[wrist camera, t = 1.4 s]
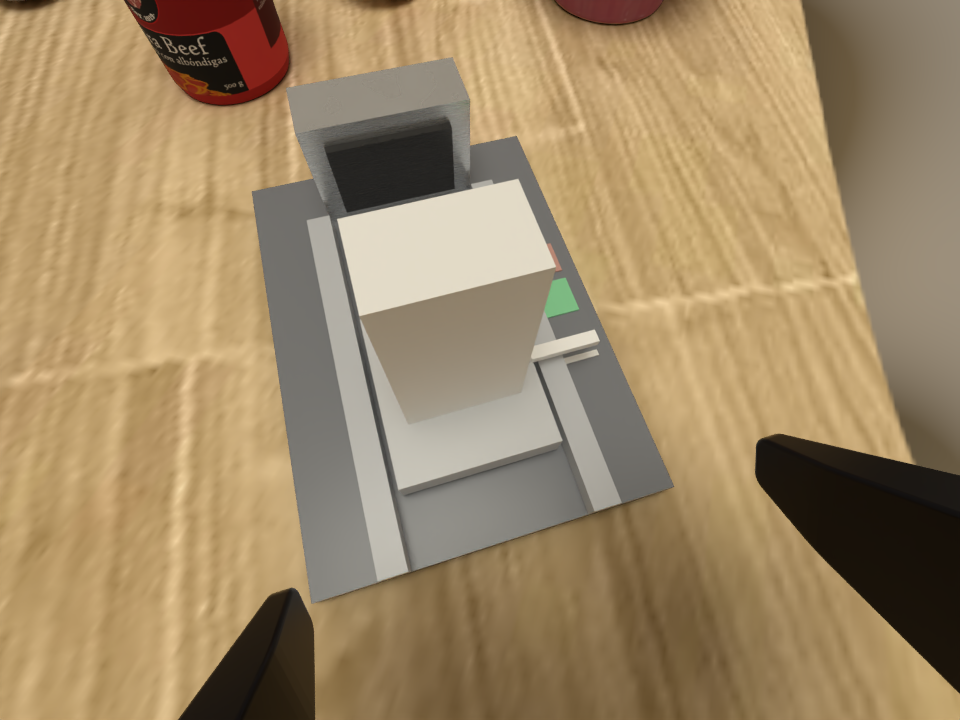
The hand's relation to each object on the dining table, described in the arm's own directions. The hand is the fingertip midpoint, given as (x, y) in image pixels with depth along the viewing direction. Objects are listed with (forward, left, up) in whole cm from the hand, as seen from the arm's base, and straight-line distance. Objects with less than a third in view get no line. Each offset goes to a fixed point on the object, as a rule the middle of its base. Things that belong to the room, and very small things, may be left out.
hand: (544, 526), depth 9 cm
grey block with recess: (+15, -13, -12) cm, 23 cm away
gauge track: (+9, -7, -13) cm, 17 cm away
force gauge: (+5, -6, -12) cm, 14 cm away
